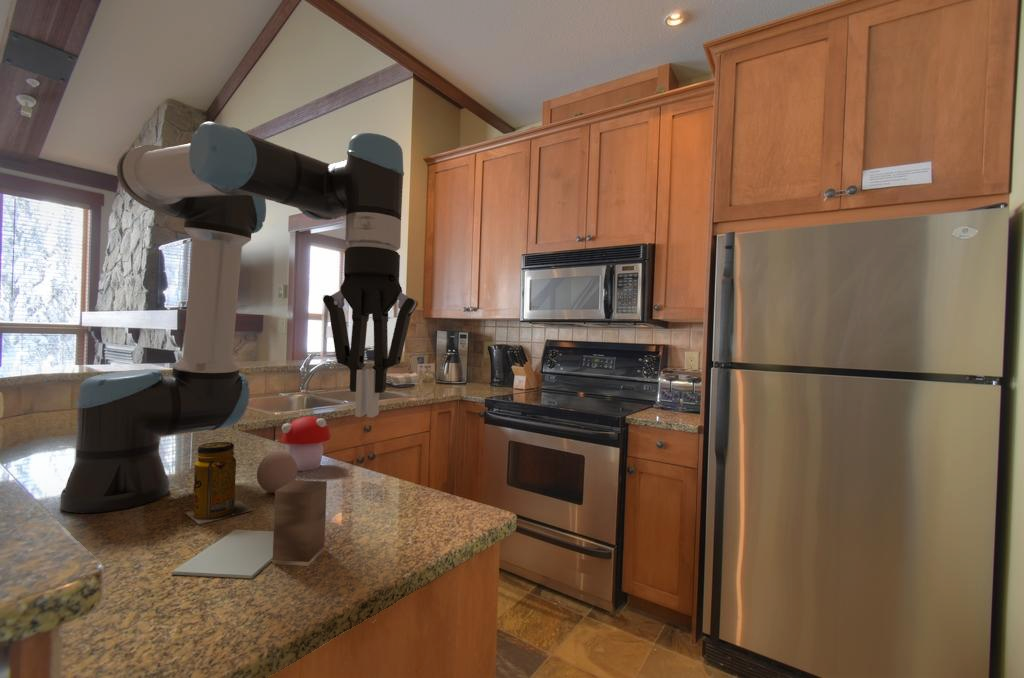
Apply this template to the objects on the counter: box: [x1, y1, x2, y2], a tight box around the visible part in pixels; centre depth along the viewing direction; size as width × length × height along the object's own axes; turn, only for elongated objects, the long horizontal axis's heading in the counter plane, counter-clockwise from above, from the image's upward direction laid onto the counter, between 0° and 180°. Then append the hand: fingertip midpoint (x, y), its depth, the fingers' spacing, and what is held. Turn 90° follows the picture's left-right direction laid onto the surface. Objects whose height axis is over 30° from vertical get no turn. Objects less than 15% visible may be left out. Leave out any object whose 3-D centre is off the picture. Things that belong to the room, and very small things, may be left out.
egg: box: [256, 449, 298, 494], centre depth 91 cm, size 7×7×8 cm
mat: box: [171, 529, 274, 579], centre depth 66 cm, size 10×13×1 cm
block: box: [272, 479, 328, 567], centre depth 66 cm, size 5×5×10 cm
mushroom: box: [280, 415, 332, 472], centre depth 109 cm, size 11×11×12 cm
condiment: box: [185, 441, 255, 525], centre depth 80 cm, size 7×8×12 cm
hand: (367, 415), depth 65 cm, fingers closed
